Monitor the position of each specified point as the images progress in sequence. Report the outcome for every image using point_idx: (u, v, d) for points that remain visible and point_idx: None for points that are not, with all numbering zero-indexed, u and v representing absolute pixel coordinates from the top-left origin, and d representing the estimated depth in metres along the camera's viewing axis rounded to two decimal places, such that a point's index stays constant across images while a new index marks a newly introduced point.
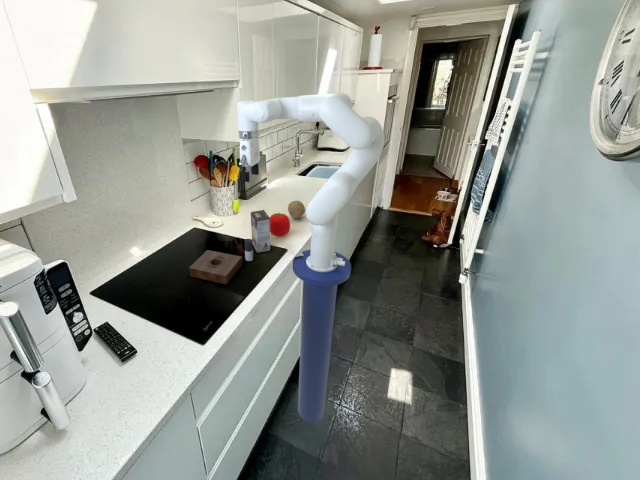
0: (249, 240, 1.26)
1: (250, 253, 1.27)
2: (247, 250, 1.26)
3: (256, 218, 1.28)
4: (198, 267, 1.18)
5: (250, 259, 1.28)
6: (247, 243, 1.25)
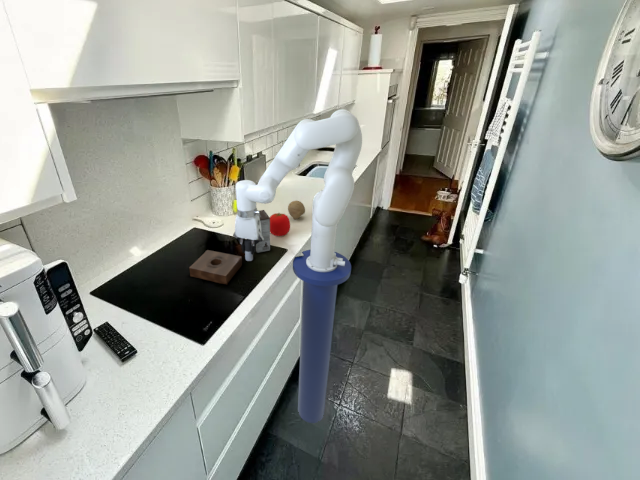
0: (249, 240, 1.26)
1: (250, 253, 1.27)
2: (247, 250, 1.26)
3: None
4: (198, 267, 1.18)
5: (250, 259, 1.28)
6: (247, 243, 1.25)
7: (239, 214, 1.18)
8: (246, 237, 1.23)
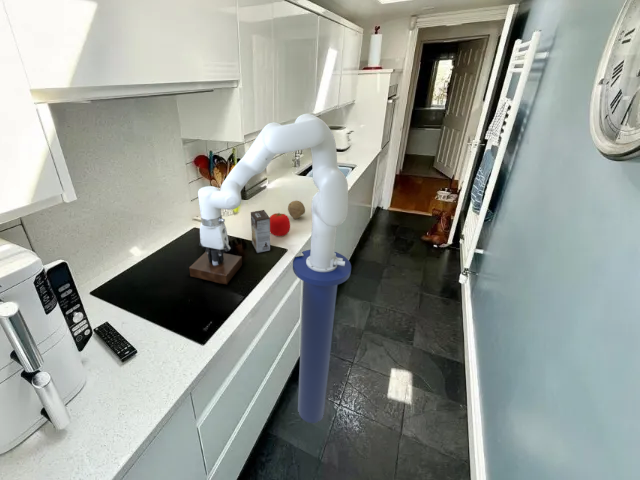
0: (216, 249, 1.19)
1: (217, 263, 1.20)
2: (214, 260, 1.19)
3: (256, 218, 1.28)
4: (198, 267, 1.18)
5: None
6: (213, 253, 1.18)
7: (203, 222, 1.11)
8: (211, 246, 1.16)
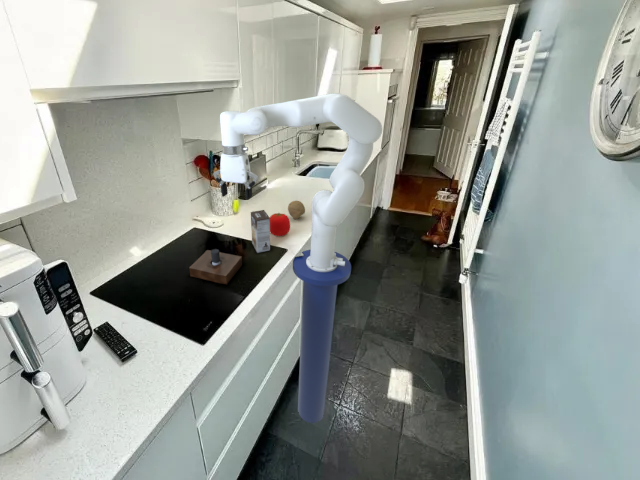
0: (216, 251, 1.19)
1: (217, 264, 1.20)
2: (214, 261, 1.20)
3: (256, 218, 1.28)
4: (198, 267, 1.18)
5: None
6: (213, 254, 1.18)
7: (224, 151, 1.02)
8: (233, 180, 1.07)
